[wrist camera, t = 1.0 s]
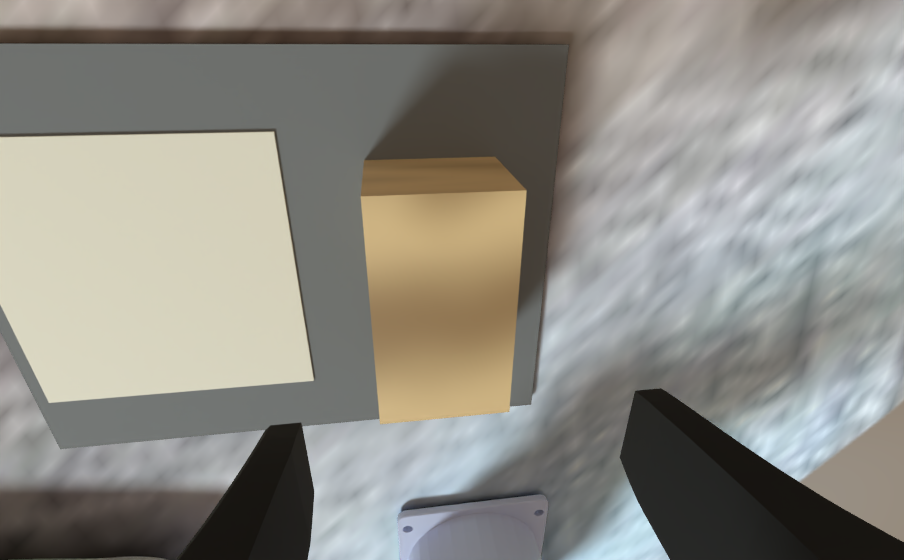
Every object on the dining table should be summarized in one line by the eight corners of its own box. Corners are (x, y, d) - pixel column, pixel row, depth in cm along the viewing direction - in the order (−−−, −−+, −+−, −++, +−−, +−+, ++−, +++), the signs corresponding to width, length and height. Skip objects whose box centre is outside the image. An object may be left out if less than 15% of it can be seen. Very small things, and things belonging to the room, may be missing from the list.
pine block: (486, 346, 20) (509, 411, 17) (379, 354, 20) (380, 424, 16) (495, 156, 17) (526, 190, 13) (364, 160, 16) (360, 196, 13)
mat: (528, 398, 23) (531, 405, 22) (65, 441, 20) (59, 451, 20) (564, 44, 16) (570, 44, 15) (-134, 43, 13) (-151, 43, 13)
